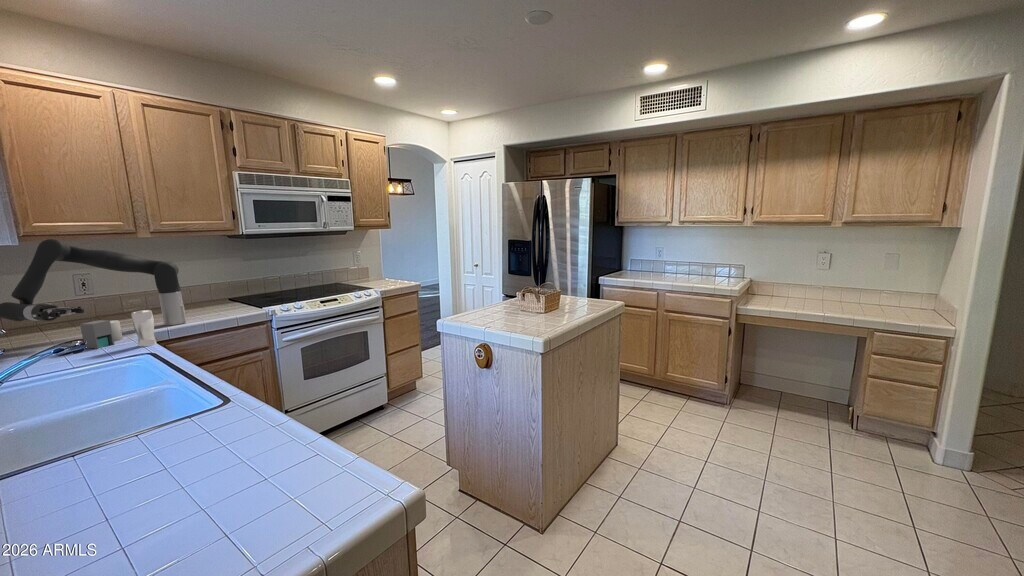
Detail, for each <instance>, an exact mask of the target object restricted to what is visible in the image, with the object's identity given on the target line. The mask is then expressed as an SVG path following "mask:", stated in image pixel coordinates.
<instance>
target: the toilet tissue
mask: <svg viewBox="0 0 1024 576" xmlns="http://www.w3.org/2000/svg"><path fill="white" fill-rule="evenodd" d="M109 321H110V324H111V329H112V334H113V339H114V343H115V342H119V341H122V340H123V339H124V338H123V334H122V329H121V323H120V320H117V319H116V320H109Z"/></svg>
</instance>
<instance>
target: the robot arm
mask: <svg viewBox="0 0 1024 576" xmlns="http://www.w3.org/2000/svg"><path fill="white" fill-rule="evenodd" d="M30 262H31V263H30V265H29V266H28V268H27V270H26V271H25V273H24V274H23V276H22V278H21V280H19V282H18V283H17V285H16V286H15V287H14V289H13V291H12V292H11V295H10V296H11V297H12V298H13V299H15V300H18V301H19V303H17V302H9V301H8V302H7V301H6V302H1V303H0V319H6V320H10V321H13V322H23V321H37V322H39V321H40V322H42V321H43V322H51V321H54V320H56V319H58V318H60V317H62V316H71V315H72V314H73V315H74V314H84V313H85V308H83V307H82V306H67V307H65V306H64V307H63V306H57V305H56V304H53V303H34V300H35V298H36V297H37V295H38V294H39V292H40V290H41V289H42V287H43V285H44V282H45V280H46V276H47V274H48V271H49V270H50V268H51V267H52V265H53V264H54V263H55V262H67V263H75V264H81V265H87V266H90V267H94V268H95V267H96V268H99V269H103V270H108V271H109V270H110V271H115V272H122V273H123V272H124V273H140V274H146V275H151V276H154V282H155V285H156V289H157V292H158V298H159V304H160V309H161V315H162V321H163V325H164V326H176V325H181V324H186V323H187V318H186V317H187V316H186V312H185V305H184V302H183V301H184V300H183V295H182V288H181V285H180V284H179V278H178V274H179V271H180V270H179V267H178V266H177V264H175V263H173V262H172V261H171V262H170V261H162V260H152V259H146V258H142V257H138V256H134V255H132V254H126V253H122V252H117V251H113V250H104V249H87V248H82V247H76V246H72V245H69V244H66V243H64V242H62V241H60V240H58V239H54V238H49V239H45V240H42V241H41V242H39V244H38V245H37V248H36V251H35V253H34V255H33V258H32V260H31V261H30Z"/></svg>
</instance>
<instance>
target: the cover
mask: <svg viewBox="0 0 1024 576" xmlns="http://www.w3.org/2000/svg"><path fill="white" fill-rule="evenodd" d="M110 321H111V320H103V319H102V320H99V319H98V320H93V321H90V322H89V321H88V322H83V323H80V324H79V327H80V330H81V336H82V341H83V340H85V341H87V344H85V346H84V348H85V347H87V348H95V349H94V350H99V349H100V348H99V346H98V341H97V337H107V339H108V344H109V346H114V345H115V342H114V339H113V334H112V329H111V324H110Z"/></svg>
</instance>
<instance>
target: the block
mask: <svg viewBox="0 0 1024 576" xmlns="http://www.w3.org/2000/svg"><path fill="white" fill-rule="evenodd" d="M97 341H98V346H99V349H101V348H105V347H108V345H109V344H108V339H107V337H97ZM104 346H105V347H104ZM109 346H110V345H109ZM100 347H101V348H100Z"/></svg>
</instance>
